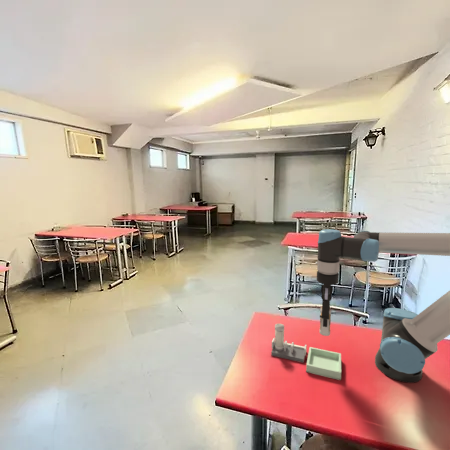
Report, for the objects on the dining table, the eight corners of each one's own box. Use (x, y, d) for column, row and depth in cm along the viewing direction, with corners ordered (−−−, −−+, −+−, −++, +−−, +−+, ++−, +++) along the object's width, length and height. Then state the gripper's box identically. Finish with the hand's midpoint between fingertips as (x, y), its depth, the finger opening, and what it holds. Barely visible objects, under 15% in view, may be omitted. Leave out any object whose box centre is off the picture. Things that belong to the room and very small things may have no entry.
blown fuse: (330, 331, 102) (331, 307, 101) (329, 336, 99) (331, 311, 97) (319, 329, 104) (320, 305, 102) (319, 334, 100) (320, 309, 99)
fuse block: (306, 351, 112) (307, 341, 112) (304, 363, 105) (305, 352, 104) (274, 344, 118) (274, 335, 117) (270, 355, 110) (270, 345, 110)
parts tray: (340, 360, 106) (340, 353, 106) (340, 380, 96) (341, 372, 95) (309, 353, 111) (309, 346, 111) (306, 372, 100) (306, 364, 100)
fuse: (284, 346, 114) (285, 324, 112) (282, 351, 110) (283, 329, 109) (275, 344, 115) (276, 322, 114) (273, 349, 112) (274, 327, 110)
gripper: (318, 264, 107) (316, 318, 110) (315, 277, 91) (312, 340, 95) (338, 266, 104) (335, 321, 107) (338, 280, 89) (335, 344, 92)
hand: (324, 330), depth 101 cm, fingers closed on blown fuse, 4 cm apart
